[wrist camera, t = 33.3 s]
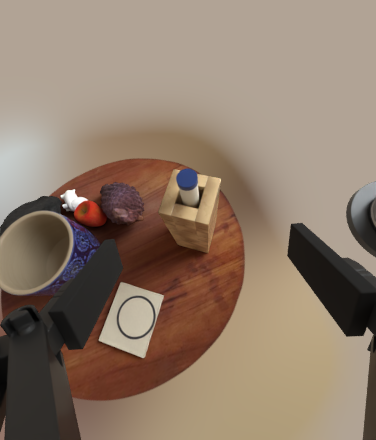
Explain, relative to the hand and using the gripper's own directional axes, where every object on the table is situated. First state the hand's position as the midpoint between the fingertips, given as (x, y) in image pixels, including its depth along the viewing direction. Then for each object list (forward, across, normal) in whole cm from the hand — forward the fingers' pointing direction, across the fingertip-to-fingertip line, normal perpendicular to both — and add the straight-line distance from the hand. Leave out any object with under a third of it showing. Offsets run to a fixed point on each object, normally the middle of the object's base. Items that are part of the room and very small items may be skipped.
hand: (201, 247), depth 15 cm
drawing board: (+20, -18, -30) cm, 40 cm away
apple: (+37, -27, -12) cm, 47 cm away
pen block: (+33, -1, -17) cm, 37 cm away
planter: (+29, -32, -20) cm, 48 cm away
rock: (+38, -45, -12) cm, 60 cm away
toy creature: (+39, -38, -7) cm, 54 cm away
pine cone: (+39, -20, -10) cm, 45 cm away
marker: (+23, -1, -7) cm, 24 cm away
